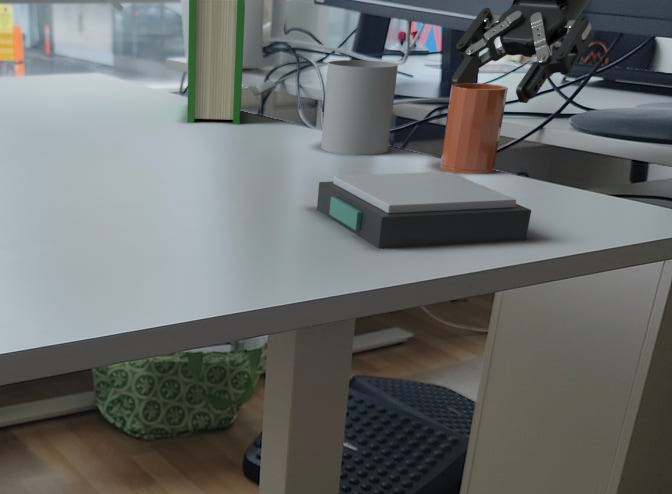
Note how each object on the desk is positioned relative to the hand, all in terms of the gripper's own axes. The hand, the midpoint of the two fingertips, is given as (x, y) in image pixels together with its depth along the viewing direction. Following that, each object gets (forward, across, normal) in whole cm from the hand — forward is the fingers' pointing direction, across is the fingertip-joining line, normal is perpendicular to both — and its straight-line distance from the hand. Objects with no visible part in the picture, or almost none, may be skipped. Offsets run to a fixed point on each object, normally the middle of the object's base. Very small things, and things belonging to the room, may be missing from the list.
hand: (487, 93), depth 108 cm
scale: (+25, -14, +14) cm, 32 cm away
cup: (+8, +16, -4) cm, 18 cm away
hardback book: (+5, +48, -7) cm, 48 cm away
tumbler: (+7, 0, -5) cm, 8 cm away
